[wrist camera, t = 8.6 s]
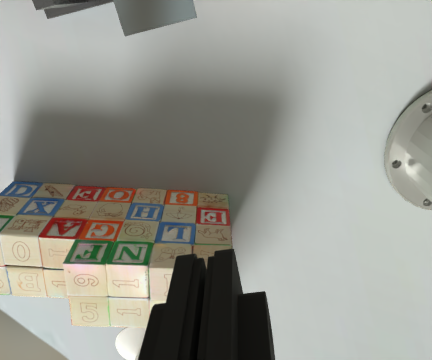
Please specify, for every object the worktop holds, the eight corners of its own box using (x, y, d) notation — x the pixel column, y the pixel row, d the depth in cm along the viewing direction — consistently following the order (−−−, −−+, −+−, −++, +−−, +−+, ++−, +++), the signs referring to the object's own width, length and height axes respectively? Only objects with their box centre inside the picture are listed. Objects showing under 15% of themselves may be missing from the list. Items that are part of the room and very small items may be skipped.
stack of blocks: (21, 233, 42) (-49, 321, 31) (12, 179, 39) (-69, 254, 28) (225, 244, 42) (227, 335, 31) (230, 192, 40) (235, 271, 28)
